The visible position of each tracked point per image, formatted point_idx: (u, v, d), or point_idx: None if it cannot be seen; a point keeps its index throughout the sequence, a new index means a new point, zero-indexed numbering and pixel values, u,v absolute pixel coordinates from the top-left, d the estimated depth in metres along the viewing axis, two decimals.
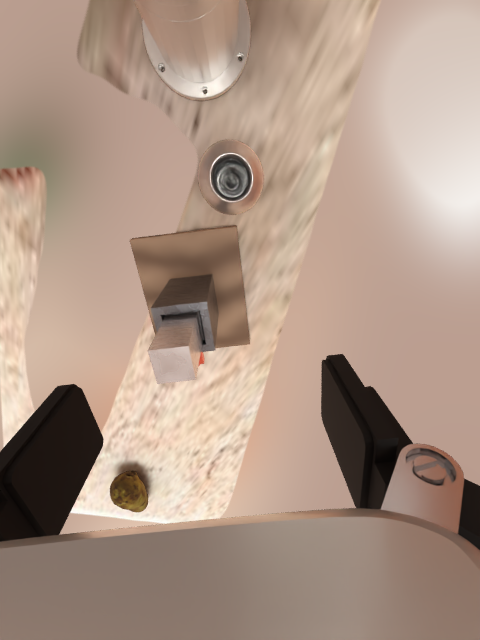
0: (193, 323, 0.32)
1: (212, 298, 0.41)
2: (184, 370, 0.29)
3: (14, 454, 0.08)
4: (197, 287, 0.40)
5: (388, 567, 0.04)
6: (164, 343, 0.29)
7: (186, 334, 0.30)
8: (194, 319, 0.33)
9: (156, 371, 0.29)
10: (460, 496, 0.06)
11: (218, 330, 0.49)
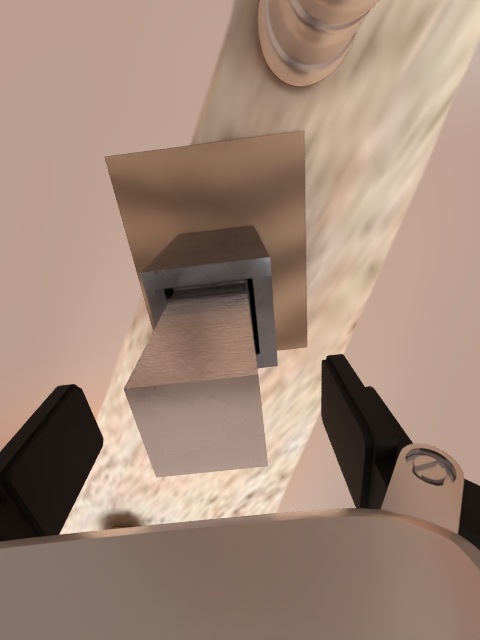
0: (246, 306, 0.13)
1: None
2: (238, 442, 0.10)
3: (14, 455, 0.08)
4: (235, 240, 0.20)
5: (388, 567, 0.04)
6: (178, 361, 0.10)
7: (238, 333, 0.11)
8: (244, 297, 0.14)
9: (154, 447, 0.10)
10: (461, 496, 0.06)
11: None
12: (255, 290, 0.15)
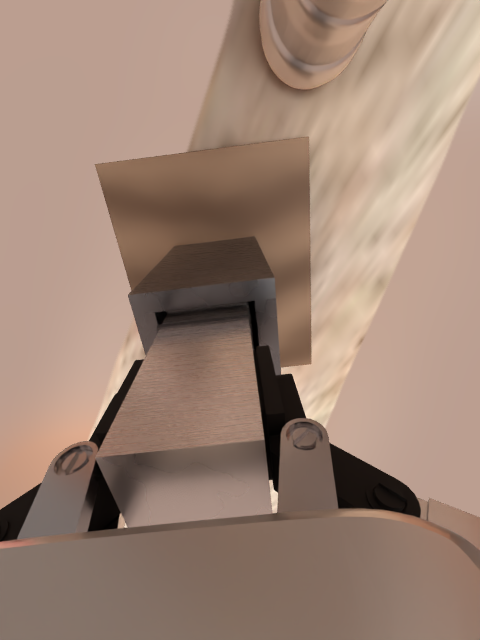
0: (247, 336, 0.11)
1: None
2: (239, 514, 0.08)
3: None
4: (235, 254, 0.18)
5: (388, 567, 0.04)
6: (165, 414, 0.08)
7: (239, 375, 0.09)
8: (246, 324, 0.12)
9: (135, 521, 0.08)
10: (329, 449, 0.07)
11: None
12: (257, 314, 0.14)
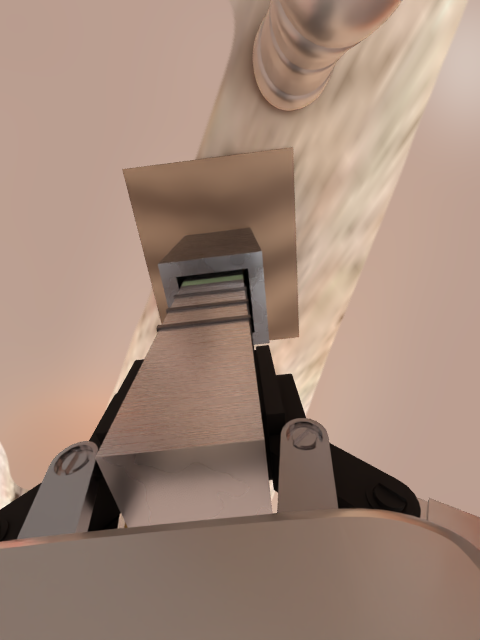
0: (247, 336, 0.11)
1: None
2: (239, 514, 0.08)
3: None
4: (234, 239, 0.24)
5: (388, 567, 0.04)
6: (165, 415, 0.08)
7: (239, 375, 0.09)
8: (246, 324, 0.12)
9: (135, 521, 0.08)
10: (329, 450, 0.07)
11: None
12: (250, 278, 0.19)
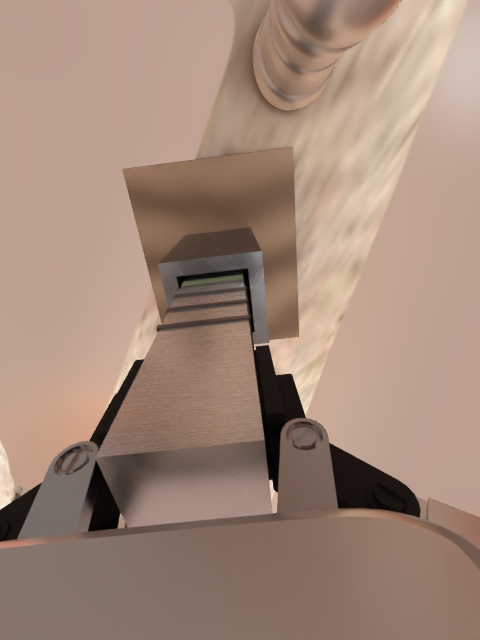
0: (247, 336, 0.11)
1: None
2: (239, 514, 0.08)
3: None
4: (234, 239, 0.24)
5: (388, 567, 0.04)
6: (165, 415, 0.08)
7: (239, 375, 0.09)
8: (246, 324, 0.12)
9: (135, 521, 0.08)
10: (329, 450, 0.07)
11: None
12: (250, 278, 0.19)
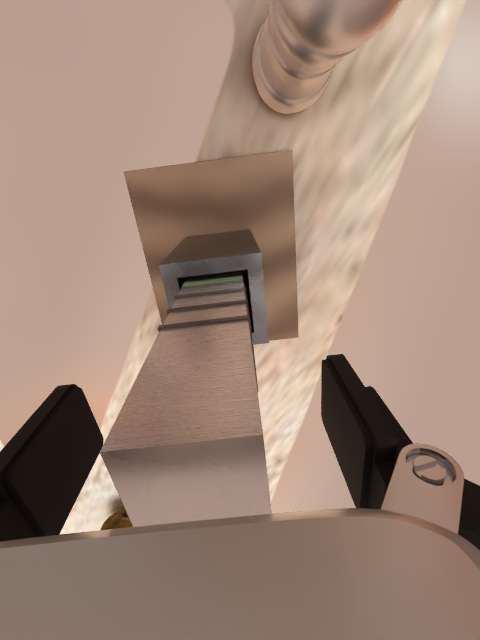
0: (247, 336, 0.12)
1: None
2: (238, 508, 0.08)
3: (14, 454, 0.08)
4: (233, 241, 0.24)
5: (388, 567, 0.04)
6: (167, 411, 0.08)
7: (238, 373, 0.09)
8: (245, 324, 0.13)
9: (138, 514, 0.08)
10: (461, 496, 0.06)
11: None
12: (249, 279, 0.20)
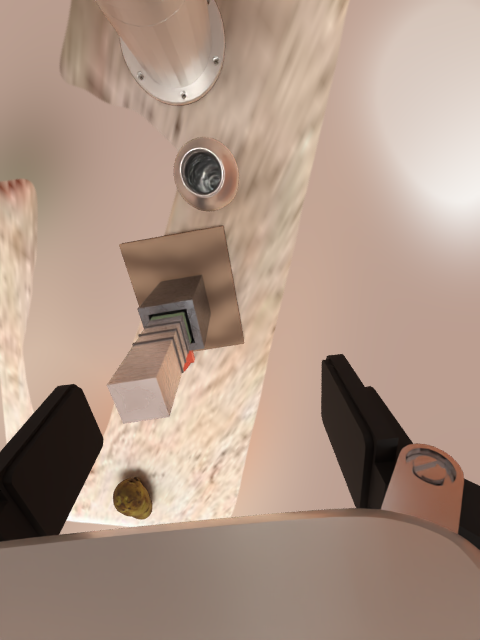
0: (168, 346, 0.27)
1: (201, 298, 0.41)
2: (154, 406, 0.24)
3: (13, 455, 0.08)
4: (185, 287, 0.40)
5: (388, 567, 0.04)
6: (129, 373, 0.24)
7: (157, 361, 0.25)
8: (170, 341, 0.28)
9: (120, 409, 0.24)
10: (460, 495, 0.06)
11: (211, 331, 0.50)
12: (188, 313, 0.35)
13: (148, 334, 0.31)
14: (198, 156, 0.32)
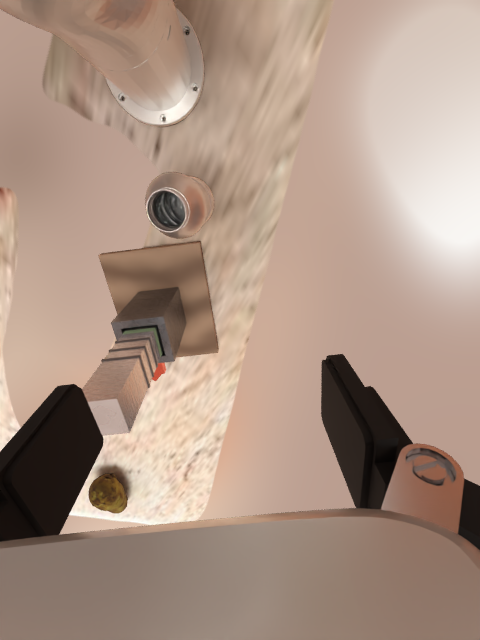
0: (133, 365, 0.29)
1: (175, 311, 0.43)
2: (115, 423, 0.26)
3: (14, 455, 0.08)
4: (160, 301, 0.42)
5: (388, 567, 0.04)
6: (93, 393, 0.26)
7: (121, 380, 0.27)
8: (136, 359, 0.30)
9: None
10: (460, 496, 0.06)
11: (187, 339, 0.52)
12: (159, 329, 0.37)
13: (118, 350, 0.33)
14: None
